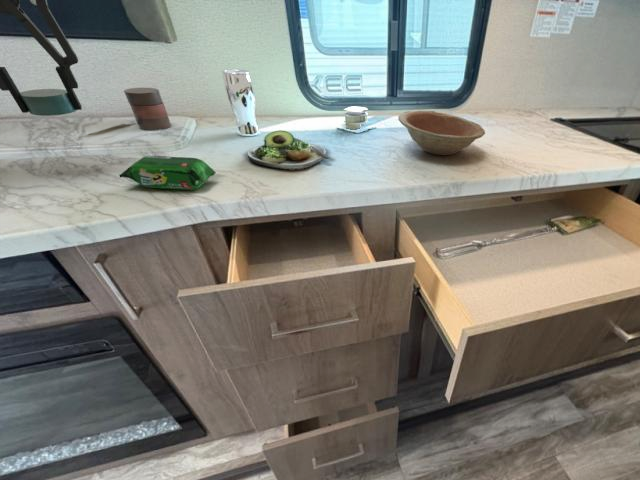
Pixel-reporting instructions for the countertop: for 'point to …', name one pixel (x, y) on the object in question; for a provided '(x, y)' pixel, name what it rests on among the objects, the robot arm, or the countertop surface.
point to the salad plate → (286, 152)
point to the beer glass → (241, 100)
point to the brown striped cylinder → (148, 108)
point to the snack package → (169, 172)
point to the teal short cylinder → (47, 102)
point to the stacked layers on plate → (355, 117)
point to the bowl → (440, 131)
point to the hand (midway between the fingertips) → (53, 109)
